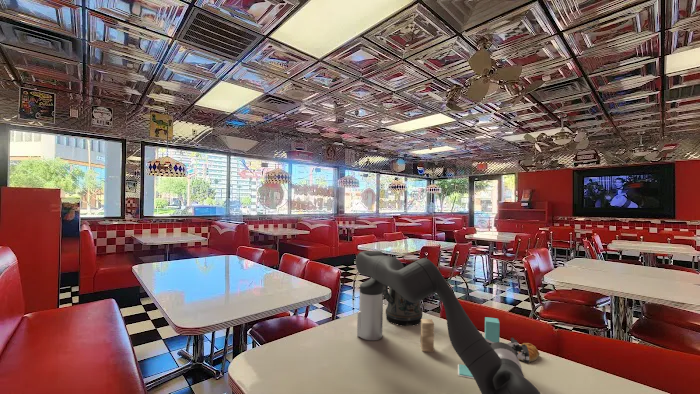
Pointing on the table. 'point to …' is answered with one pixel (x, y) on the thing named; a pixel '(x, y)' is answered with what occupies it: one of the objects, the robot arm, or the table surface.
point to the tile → (464, 371)
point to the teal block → (492, 329)
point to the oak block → (427, 335)
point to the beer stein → (401, 308)
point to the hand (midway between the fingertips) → (496, 338)
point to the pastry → (531, 352)
